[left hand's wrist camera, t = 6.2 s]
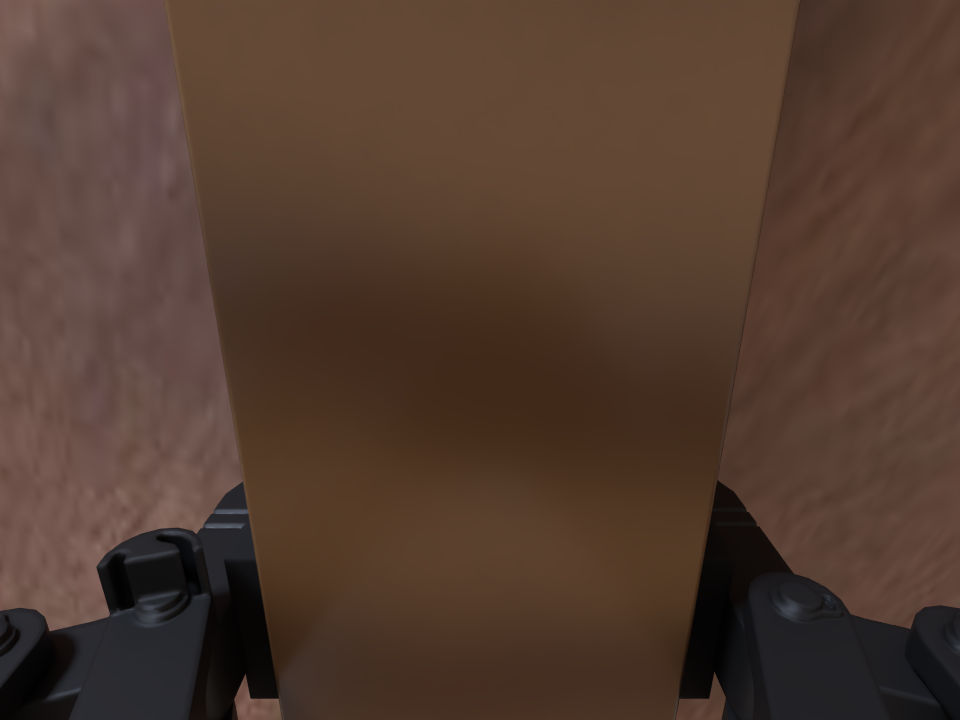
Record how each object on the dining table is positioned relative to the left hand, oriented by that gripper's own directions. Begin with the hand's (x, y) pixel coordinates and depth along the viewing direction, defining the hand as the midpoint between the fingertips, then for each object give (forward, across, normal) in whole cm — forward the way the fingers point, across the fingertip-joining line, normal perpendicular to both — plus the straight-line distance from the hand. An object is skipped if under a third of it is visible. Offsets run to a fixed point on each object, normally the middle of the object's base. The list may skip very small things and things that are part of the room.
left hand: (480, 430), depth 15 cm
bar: (+1, 0, -22) cm, 22 cm away
